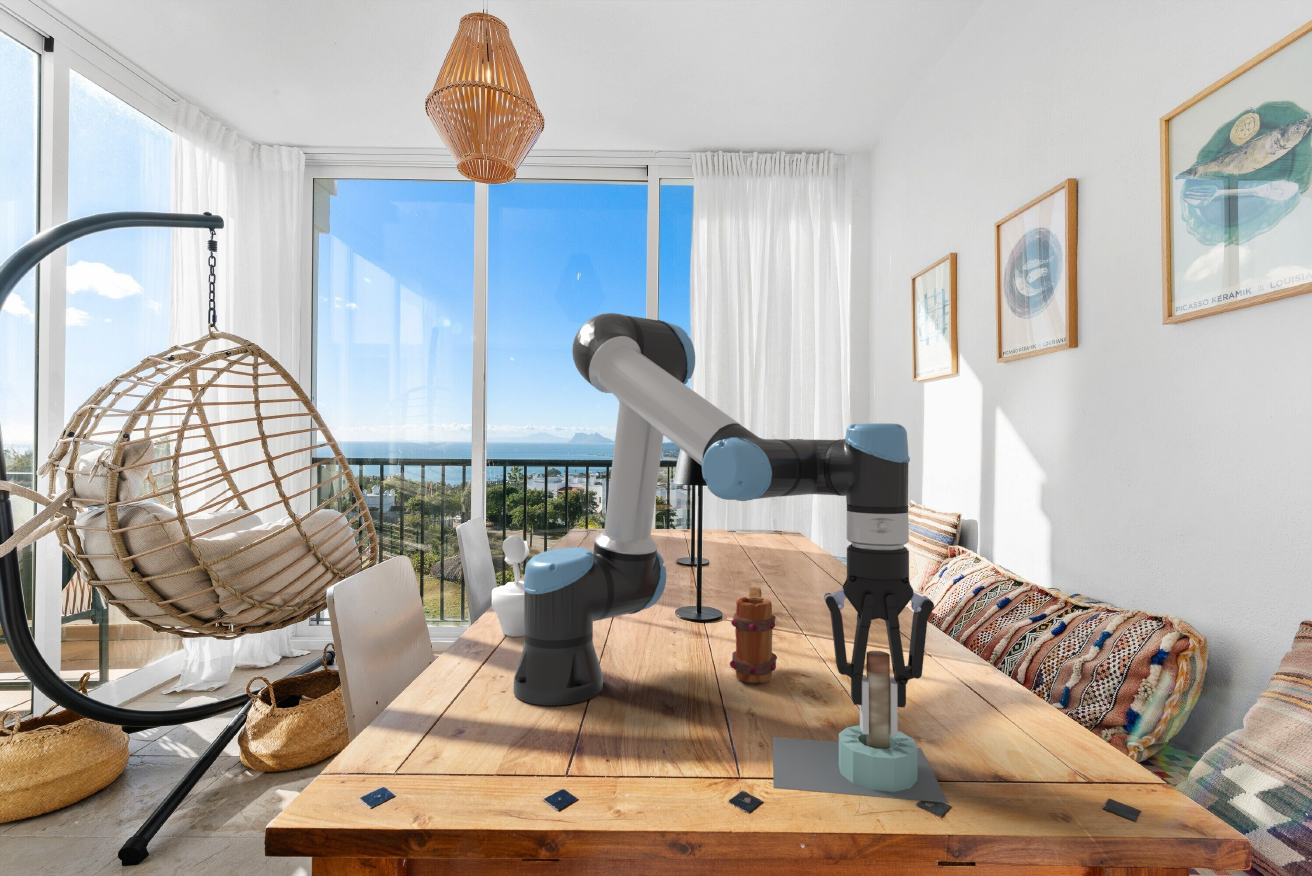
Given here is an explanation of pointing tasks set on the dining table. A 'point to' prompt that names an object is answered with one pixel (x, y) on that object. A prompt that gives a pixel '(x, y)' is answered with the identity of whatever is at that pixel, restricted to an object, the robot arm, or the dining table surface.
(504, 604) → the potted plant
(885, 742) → the dowel
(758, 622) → the wooden banded keg
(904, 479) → the robot arm
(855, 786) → the mat
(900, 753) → the bead
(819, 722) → the dining table surface
